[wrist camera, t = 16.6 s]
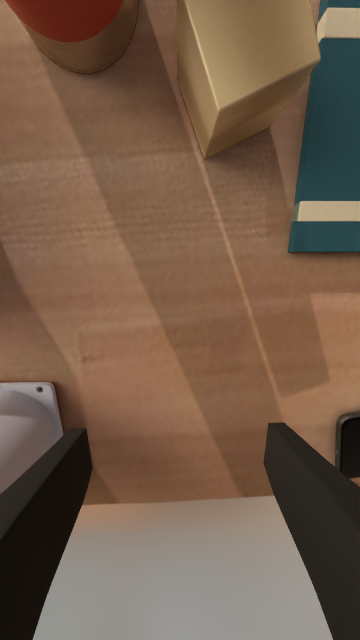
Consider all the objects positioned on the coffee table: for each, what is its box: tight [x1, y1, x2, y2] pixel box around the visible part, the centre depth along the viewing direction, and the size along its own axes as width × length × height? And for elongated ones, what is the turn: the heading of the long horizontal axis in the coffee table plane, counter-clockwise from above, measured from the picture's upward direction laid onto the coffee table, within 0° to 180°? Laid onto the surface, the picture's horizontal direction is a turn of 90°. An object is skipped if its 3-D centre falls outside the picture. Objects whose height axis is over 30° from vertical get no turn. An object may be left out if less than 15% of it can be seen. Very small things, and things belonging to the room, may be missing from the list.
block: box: [177, 0, 321, 158], centre depth 11 cm, size 4×4×5 cm
